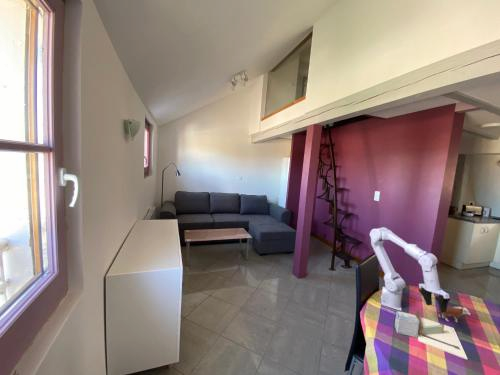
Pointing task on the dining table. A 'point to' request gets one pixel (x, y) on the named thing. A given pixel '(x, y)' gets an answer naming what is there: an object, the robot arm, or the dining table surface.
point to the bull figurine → (453, 312)
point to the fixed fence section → (418, 316)
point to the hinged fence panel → (430, 329)
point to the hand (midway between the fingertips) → (436, 308)
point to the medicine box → (406, 324)
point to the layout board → (442, 339)
